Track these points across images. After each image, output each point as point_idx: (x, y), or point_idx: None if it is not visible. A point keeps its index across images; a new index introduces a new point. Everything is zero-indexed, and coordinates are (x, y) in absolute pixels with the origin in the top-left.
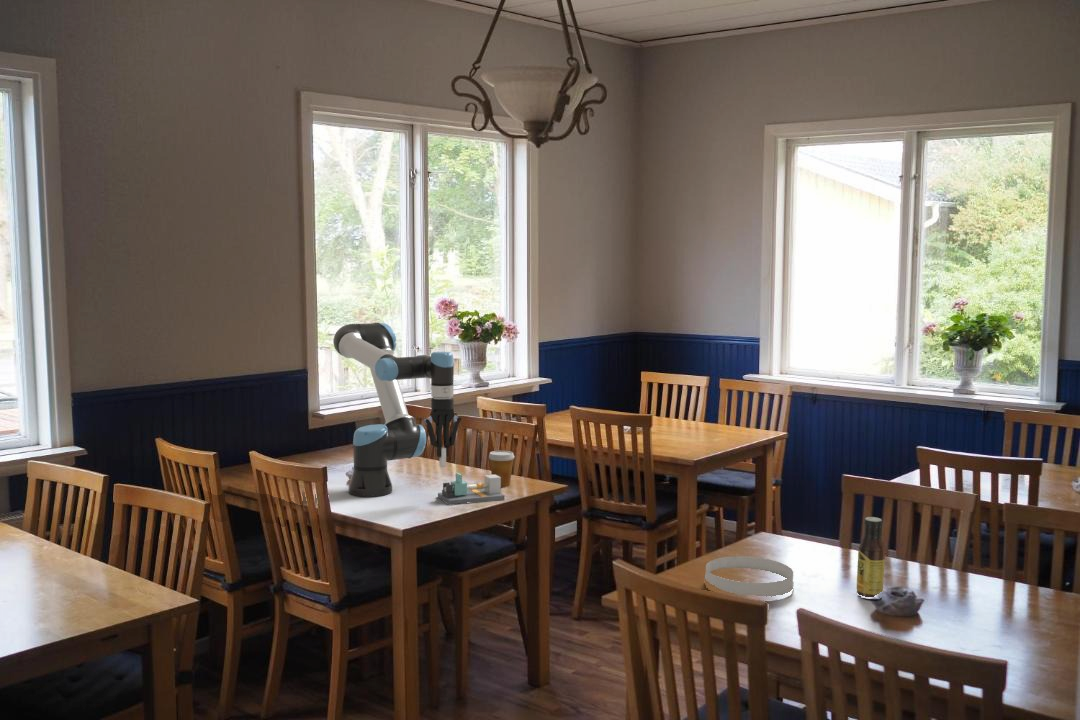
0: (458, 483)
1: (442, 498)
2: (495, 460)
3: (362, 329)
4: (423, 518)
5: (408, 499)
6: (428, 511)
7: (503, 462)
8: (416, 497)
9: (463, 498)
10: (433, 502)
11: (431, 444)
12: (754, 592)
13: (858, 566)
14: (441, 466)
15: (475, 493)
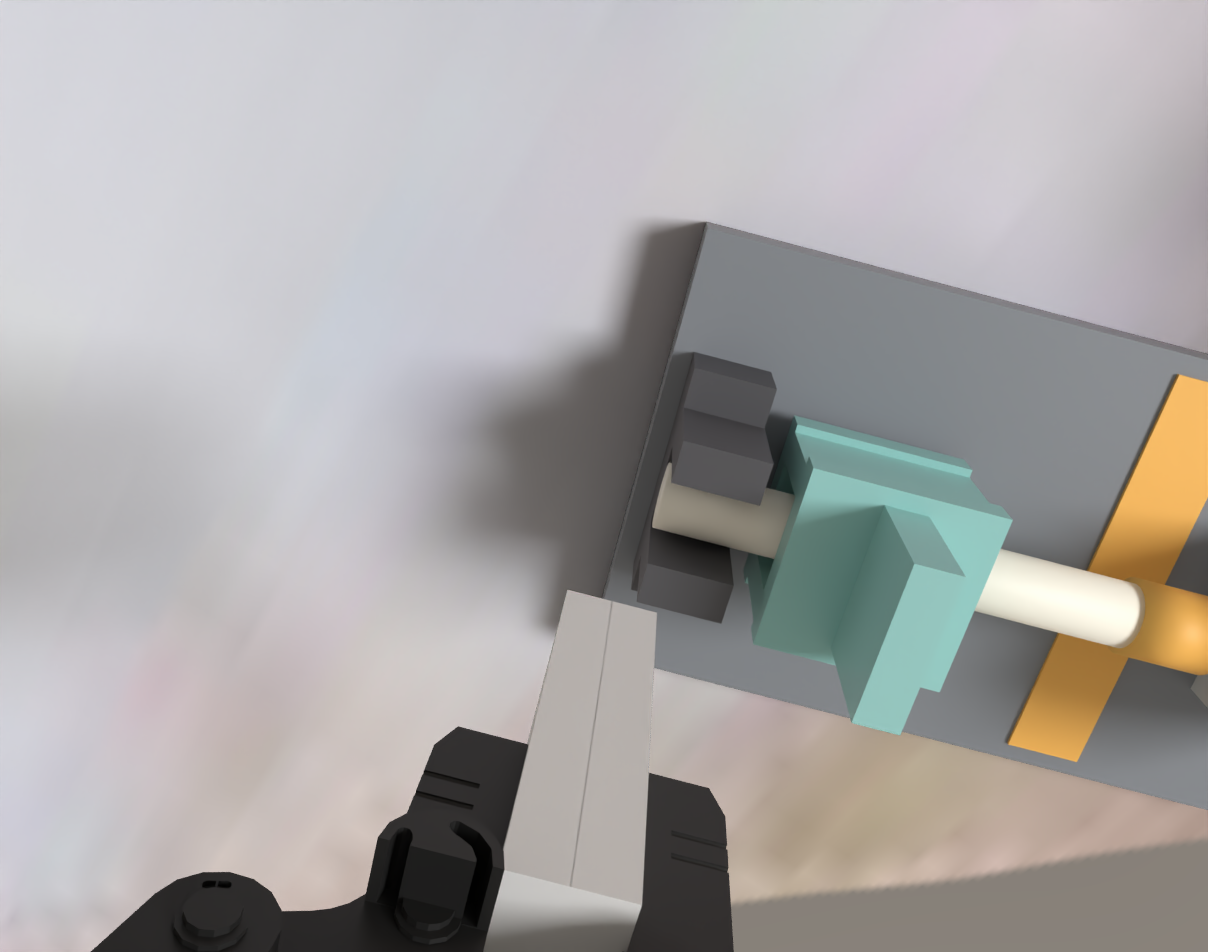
0: (826, 636)
1: (657, 404)
2: None
3: None
4: (115, 864)
5: (315, 86)
6: (267, 702)
7: None
8: (461, 48)
9: (785, 667)
10: (508, 421)
11: (148, 922)
12: None
13: None
14: (536, 708)
15: (1081, 559)
